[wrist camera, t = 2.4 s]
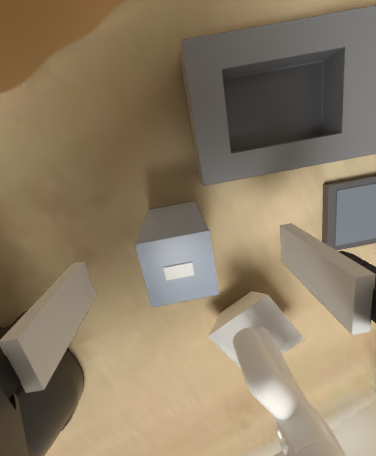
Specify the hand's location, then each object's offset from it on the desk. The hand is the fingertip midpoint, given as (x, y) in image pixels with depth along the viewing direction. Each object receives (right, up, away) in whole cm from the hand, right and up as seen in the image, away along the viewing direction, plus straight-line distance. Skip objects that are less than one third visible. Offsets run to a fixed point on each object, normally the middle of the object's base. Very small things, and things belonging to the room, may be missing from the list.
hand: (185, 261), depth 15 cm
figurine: (+7, -8, +12) cm, 16 cm away
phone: (+21, +4, +8) cm, 23 cm away
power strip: (+15, +14, +5) cm, 21 cm away
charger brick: (-1, +2, +8) cm, 8 cm away
